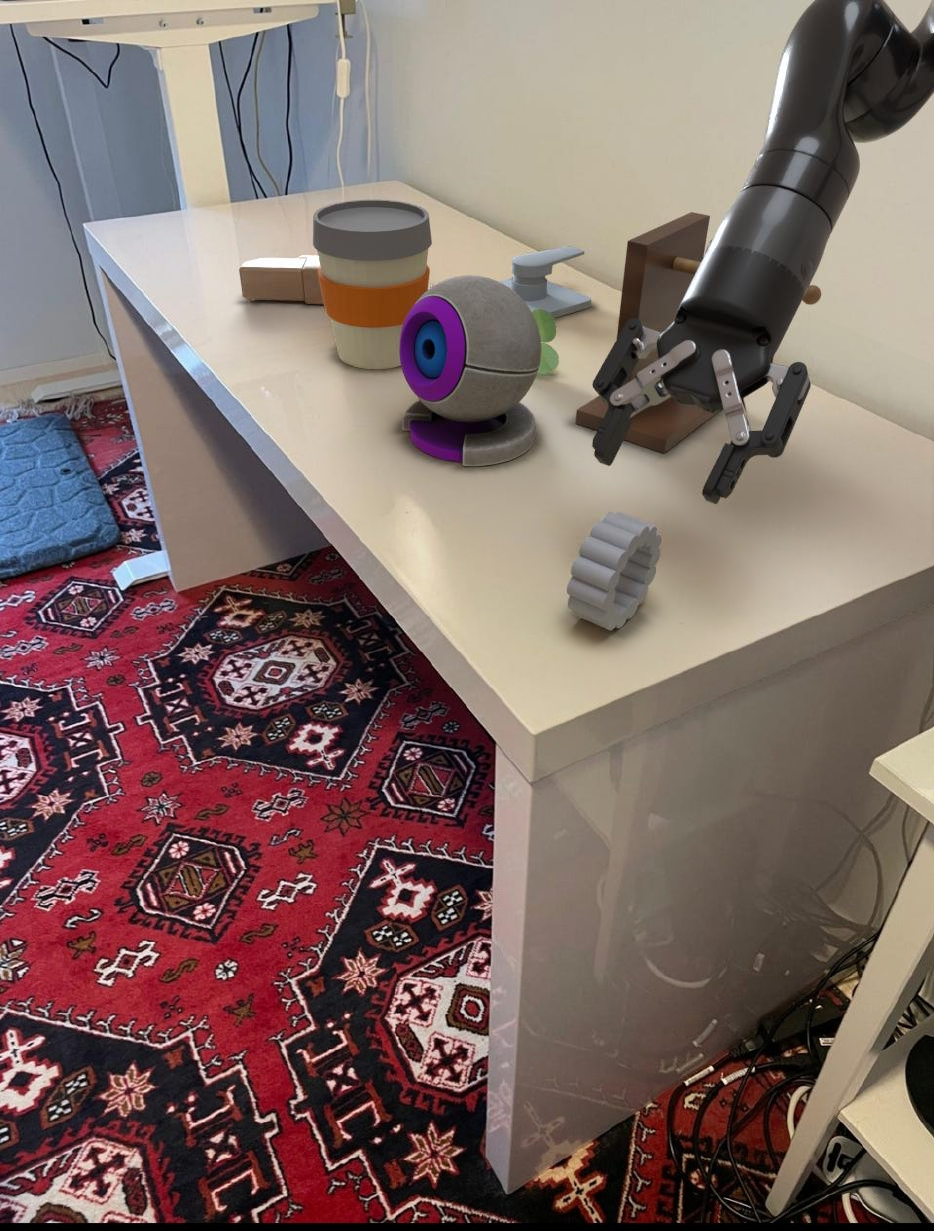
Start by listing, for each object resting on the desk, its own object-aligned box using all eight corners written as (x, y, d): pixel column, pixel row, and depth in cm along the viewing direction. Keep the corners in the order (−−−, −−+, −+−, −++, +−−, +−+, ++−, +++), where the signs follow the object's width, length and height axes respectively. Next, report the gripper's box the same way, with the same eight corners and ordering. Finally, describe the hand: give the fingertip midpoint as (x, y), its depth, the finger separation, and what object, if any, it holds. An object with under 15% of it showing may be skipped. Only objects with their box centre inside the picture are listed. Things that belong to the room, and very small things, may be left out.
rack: (575, 423, 95) (591, 236, 84) (644, 378, 104) (668, 204, 93) (751, 483, 86) (795, 282, 75) (810, 428, 95) (858, 241, 84)
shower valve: (613, 258, 119) (523, 282, 111) (608, 302, 122) (521, 328, 115) (545, 234, 127) (457, 255, 119) (542, 276, 130) (456, 299, 122)
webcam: (377, 428, 93) (370, 274, 84) (476, 393, 100) (480, 247, 91) (462, 480, 86) (464, 316, 76) (563, 439, 92) (576, 283, 83)
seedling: (531, 399, 110) (527, 392, 104) (488, 346, 111) (481, 335, 104) (580, 358, 109) (579, 347, 103) (536, 304, 109) (532, 290, 103)
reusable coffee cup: (451, 343, 111) (451, 207, 102) (400, 384, 102) (396, 239, 93) (357, 325, 115) (349, 193, 106) (300, 363, 106) (286, 222, 97)
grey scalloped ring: (653, 597, 72) (668, 507, 67) (597, 650, 67) (609, 557, 62) (619, 582, 73) (631, 494, 69) (562, 633, 68) (570, 541, 64)
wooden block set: (382, 262, 116) (236, 258, 117) (384, 307, 120) (242, 304, 120) (396, 221, 130) (264, 218, 130) (397, 264, 133) (269, 260, 134)
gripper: (858, 323, 67) (756, 530, 67) (677, 280, 74) (584, 467, 74) (850, 266, 60) (737, 494, 60) (652, 223, 67) (550, 429, 67)
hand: (653, 479), depth 67 cm, fingers open, 8 cm apart
